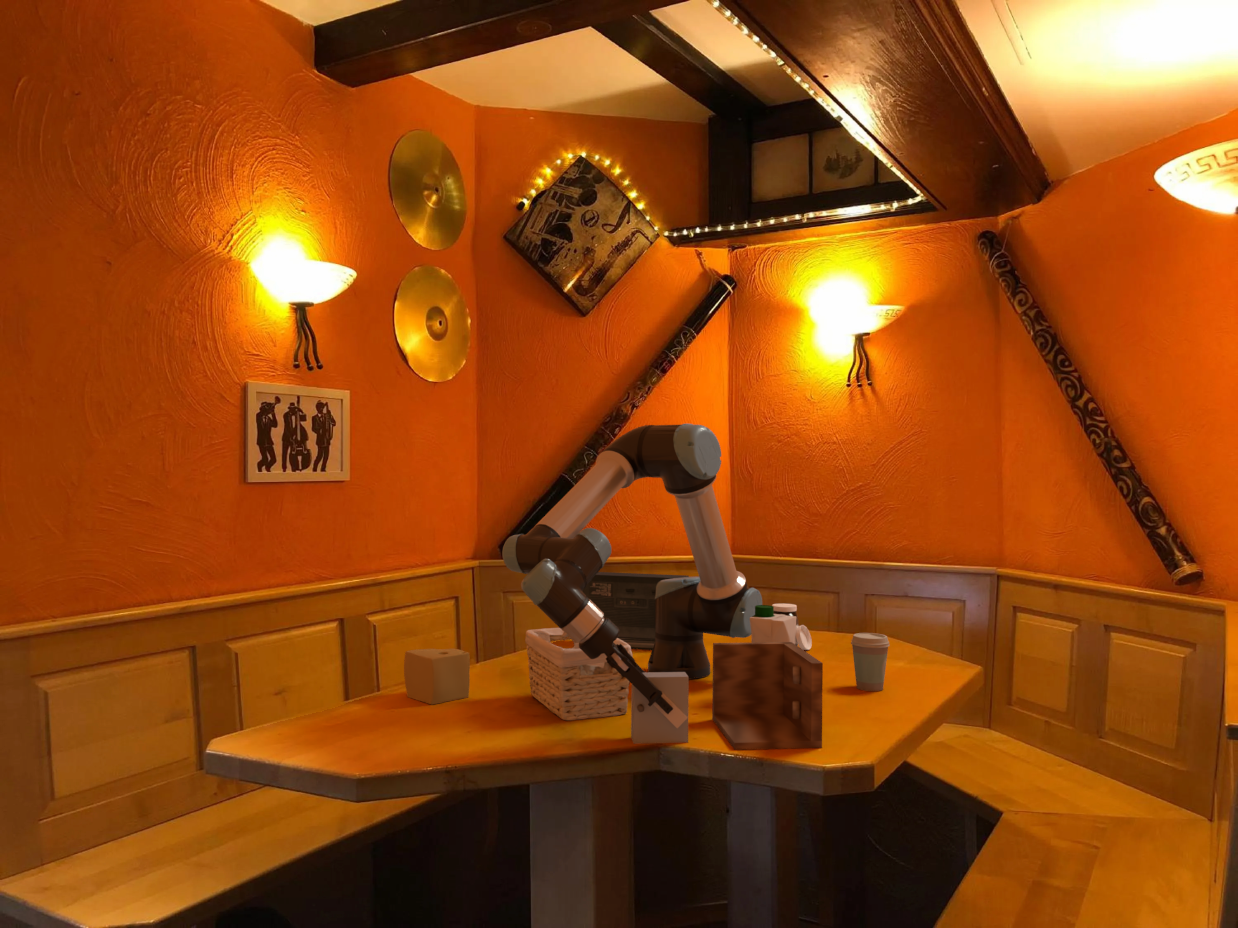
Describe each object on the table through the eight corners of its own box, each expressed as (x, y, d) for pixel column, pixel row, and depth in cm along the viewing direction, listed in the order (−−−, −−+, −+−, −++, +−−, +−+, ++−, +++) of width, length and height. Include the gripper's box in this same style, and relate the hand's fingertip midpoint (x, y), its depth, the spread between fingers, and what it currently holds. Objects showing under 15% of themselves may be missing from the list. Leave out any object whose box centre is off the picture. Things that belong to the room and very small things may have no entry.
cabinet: (734, 749, 170) (735, 664, 170) (712, 719, 189) (713, 642, 189) (821, 747, 171) (822, 663, 171) (790, 717, 191) (791, 642, 191)
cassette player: (688, 647, 263) (688, 575, 263) (682, 652, 257) (683, 578, 257) (587, 641, 271) (588, 571, 271) (580, 646, 265) (580, 574, 265)
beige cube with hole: (443, 689, 213) (444, 644, 213) (472, 698, 205) (472, 651, 205) (403, 697, 206) (403, 650, 206) (430, 706, 198) (431, 658, 198)
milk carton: (761, 692, 212) (762, 602, 212) (800, 698, 207) (800, 606, 207) (745, 700, 204) (745, 607, 204) (784, 706, 200) (785, 611, 199)
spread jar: (769, 643, 271) (770, 602, 271) (810, 644, 269) (810, 603, 269) (770, 651, 259) (770, 608, 259) (812, 652, 257) (813, 609, 257)
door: (634, 744, 172) (634, 678, 172) (631, 737, 177) (631, 672, 177) (688, 743, 173) (689, 677, 173) (684, 735, 178) (684, 671, 178)
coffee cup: (890, 693, 212) (891, 639, 212) (851, 691, 214) (851, 638, 214) (887, 684, 220) (888, 633, 220) (849, 682, 222) (850, 631, 222)
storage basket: (634, 716, 191) (635, 643, 191) (558, 724, 185) (559, 649, 185) (591, 690, 213) (592, 624, 213) (522, 696, 207) (522, 628, 207)
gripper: (574, 636, 182) (659, 721, 184) (579, 654, 165) (673, 747, 167) (602, 608, 183) (686, 693, 184) (610, 623, 166) (703, 716, 167)
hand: (679, 718), depth 176 cm, fingers closed on door, 4 cm apart
